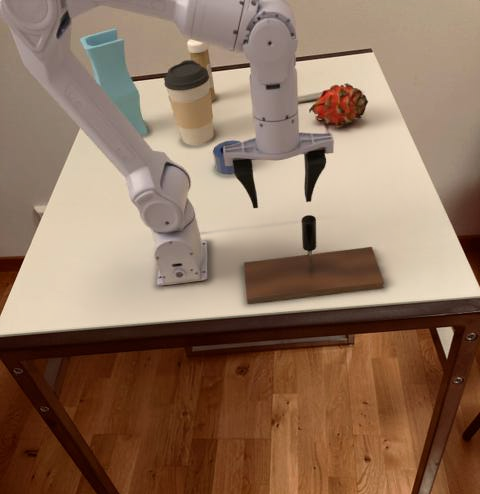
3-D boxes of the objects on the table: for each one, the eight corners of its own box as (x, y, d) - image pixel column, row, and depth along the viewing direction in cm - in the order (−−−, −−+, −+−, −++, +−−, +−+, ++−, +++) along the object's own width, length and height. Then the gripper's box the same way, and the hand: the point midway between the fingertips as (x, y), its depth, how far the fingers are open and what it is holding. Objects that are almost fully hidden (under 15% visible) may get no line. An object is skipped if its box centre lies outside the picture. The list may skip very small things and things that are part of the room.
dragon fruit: (371, 129, 107) (314, 141, 110) (367, 91, 108) (310, 104, 111) (370, 110, 99) (308, 123, 102) (365, 69, 100) (304, 83, 103)
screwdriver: (315, 261, 78) (314, 213, 71) (317, 271, 76) (317, 223, 70) (302, 263, 78) (300, 215, 71) (304, 272, 77) (302, 225, 70)
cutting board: (383, 287, 74) (384, 282, 73) (247, 303, 75) (246, 298, 74) (371, 252, 80) (371, 246, 79) (244, 267, 81) (243, 262, 80)
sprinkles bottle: (194, 103, 122) (183, 44, 112) (202, 95, 124) (191, 36, 115) (212, 104, 120) (202, 44, 110) (219, 95, 123) (210, 36, 113)
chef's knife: (272, 102, 118) (274, 107, 115) (272, 97, 117) (274, 102, 115) (354, 88, 117) (358, 93, 115) (355, 83, 116) (358, 88, 114)
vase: (150, 134, 114) (124, 39, 99) (116, 145, 113) (85, 50, 98) (141, 120, 119) (116, 28, 105) (109, 130, 118) (78, 38, 103)
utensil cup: (249, 173, 99) (247, 155, 96) (216, 178, 99) (212, 160, 96) (247, 156, 103) (245, 138, 100) (215, 160, 103) (212, 142, 100)
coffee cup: (213, 149, 107) (200, 76, 95) (172, 149, 109) (155, 78, 97) (222, 127, 112) (211, 56, 101) (184, 127, 114) (169, 58, 103)
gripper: (328, 89, 66) (327, 179, 76) (218, 103, 67) (231, 191, 77) (337, 114, 61) (334, 207, 71) (218, 130, 62) (232, 219, 72)
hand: (281, 201), depth 74 cm, fingers open, 7 cm apart
